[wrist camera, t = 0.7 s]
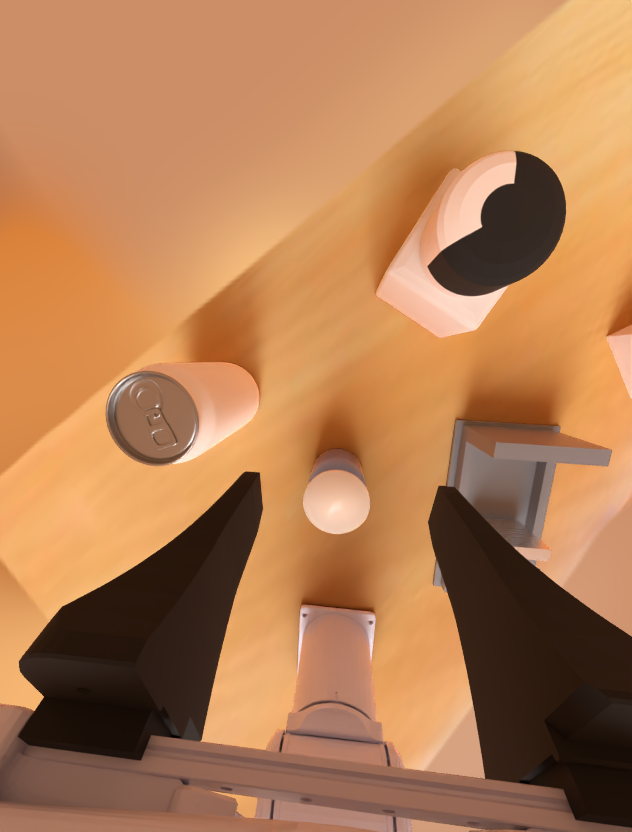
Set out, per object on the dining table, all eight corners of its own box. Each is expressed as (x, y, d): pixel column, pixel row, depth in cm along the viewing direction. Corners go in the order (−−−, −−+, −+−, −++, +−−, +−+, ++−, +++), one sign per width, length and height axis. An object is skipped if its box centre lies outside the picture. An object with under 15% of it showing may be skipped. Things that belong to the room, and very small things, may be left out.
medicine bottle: (493, 265, 25) (627, 182, 13) (440, 339, 27) (519, 323, 15) (422, 218, 25) (495, 90, 13) (373, 295, 26) (399, 242, 15)
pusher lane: (524, 592, 30) (571, 652, 24) (432, 583, 31) (455, 639, 25) (558, 425, 27) (622, 445, 21) (455, 419, 28) (488, 436, 21)
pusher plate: (517, 530, 28) (549, 561, 24) (469, 526, 29) (491, 555, 24) (519, 521, 28) (551, 550, 24) (470, 516, 28) (493, 544, 24)
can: (247, 352, 28) (179, 347, 16) (270, 417, 29) (222, 455, 17) (185, 374, 29) (79, 383, 17) (210, 436, 30) (125, 485, 18)
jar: (361, 499, 30) (367, 536, 24) (309, 495, 30) (301, 530, 24) (366, 449, 29) (372, 474, 23) (312, 445, 29) (304, 469, 23)
